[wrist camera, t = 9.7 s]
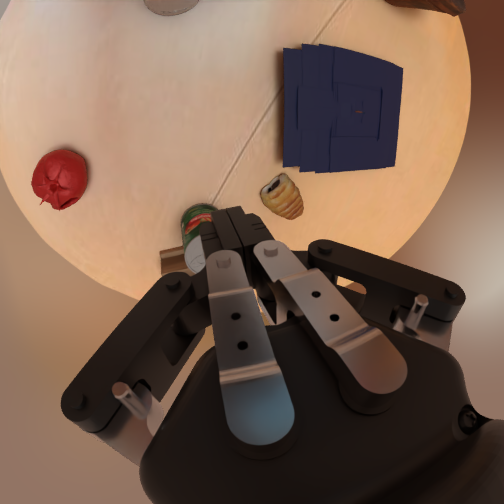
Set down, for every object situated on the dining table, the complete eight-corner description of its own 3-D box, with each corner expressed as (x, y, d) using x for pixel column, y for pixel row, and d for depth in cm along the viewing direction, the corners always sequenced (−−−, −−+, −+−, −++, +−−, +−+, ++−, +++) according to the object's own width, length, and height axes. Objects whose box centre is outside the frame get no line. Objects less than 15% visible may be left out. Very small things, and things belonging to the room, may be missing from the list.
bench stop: (159, 251, 50) (159, 280, 43) (250, 231, 54) (264, 256, 47) (169, 282, 55) (172, 313, 48) (253, 264, 58) (266, 291, 51)
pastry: (308, 201, 54) (316, 209, 51) (283, 223, 55) (290, 233, 52) (281, 169, 49) (289, 175, 46) (254, 193, 50) (260, 201, 47)
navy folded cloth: (274, 39, 34) (285, 36, 31) (393, 66, 43) (406, 67, 40) (274, 173, 47) (285, 179, 44) (385, 163, 57) (397, 168, 54)
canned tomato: (210, 195, 47) (221, 223, 39) (229, 228, 52) (244, 260, 43) (172, 217, 48) (174, 250, 39) (194, 248, 52) (201, 284, 43)
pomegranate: (46, 142, 33) (21, 155, 25) (96, 149, 37) (79, 163, 29) (41, 196, 37) (20, 219, 30) (88, 203, 41) (73, 228, 34)
